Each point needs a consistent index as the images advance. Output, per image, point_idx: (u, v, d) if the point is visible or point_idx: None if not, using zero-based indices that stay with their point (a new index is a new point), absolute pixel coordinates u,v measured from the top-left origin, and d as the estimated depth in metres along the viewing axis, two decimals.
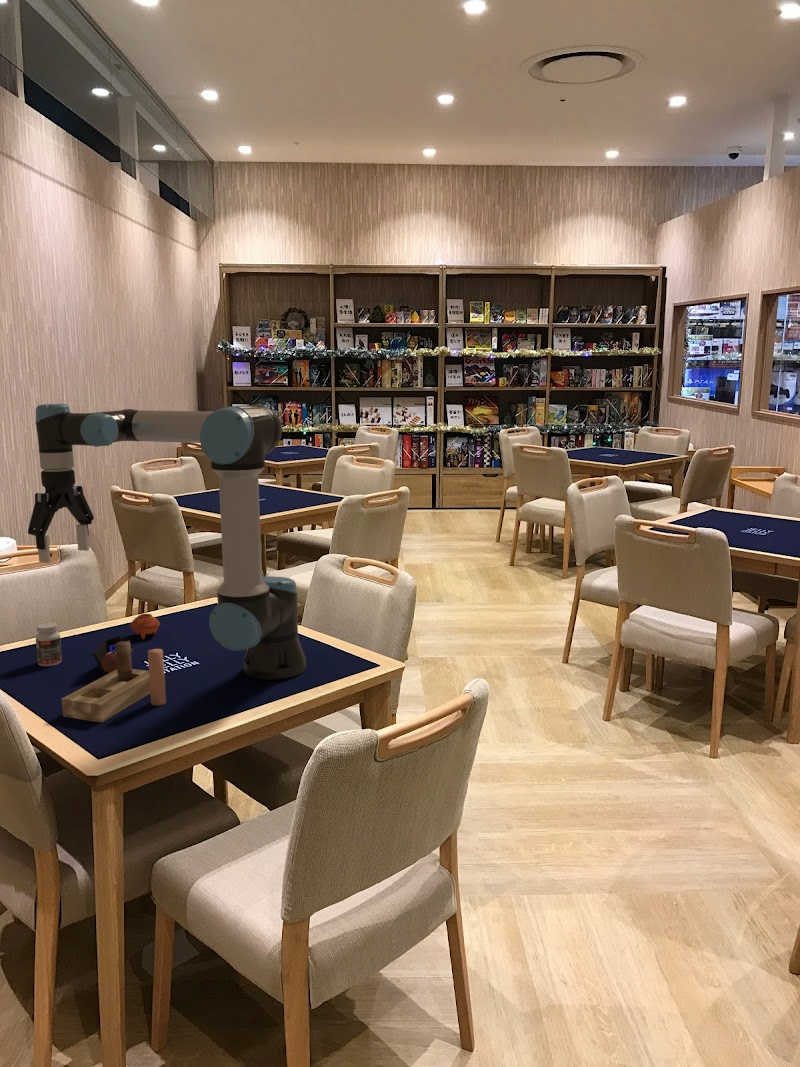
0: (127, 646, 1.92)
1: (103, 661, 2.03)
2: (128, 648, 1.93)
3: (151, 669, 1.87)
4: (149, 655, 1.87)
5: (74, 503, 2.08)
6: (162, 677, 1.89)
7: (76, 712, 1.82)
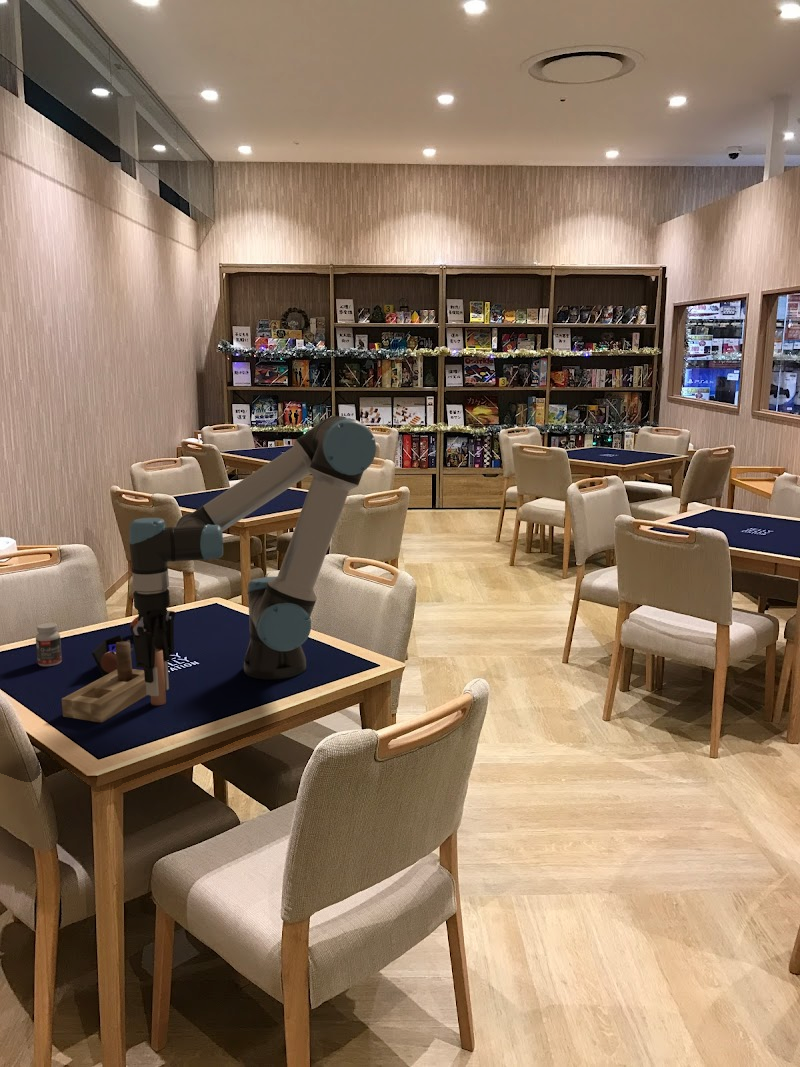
0: (127, 646, 1.92)
1: (102, 660, 2.03)
2: (128, 648, 1.93)
3: None
4: None
5: (164, 628, 1.88)
6: (162, 677, 1.89)
7: (76, 712, 1.82)
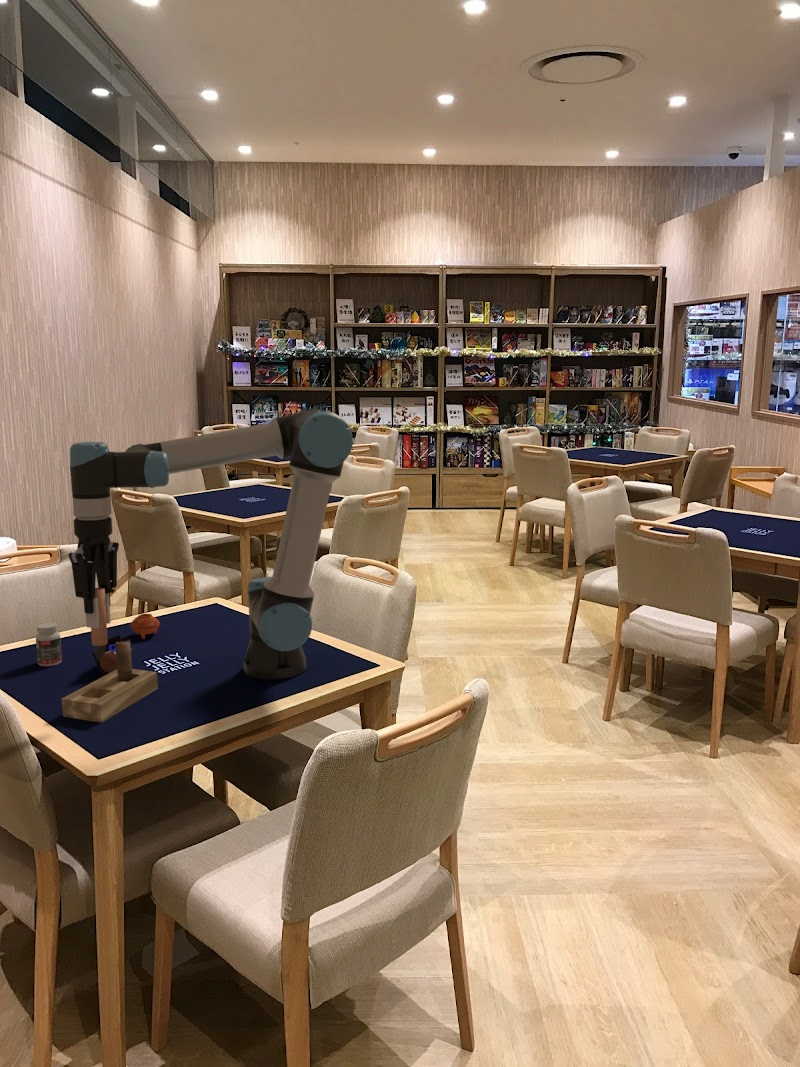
0: (127, 646, 1.92)
1: (101, 660, 2.03)
2: (128, 648, 1.93)
3: None
4: None
5: (106, 558, 1.81)
6: (103, 617, 1.82)
7: (76, 712, 1.82)
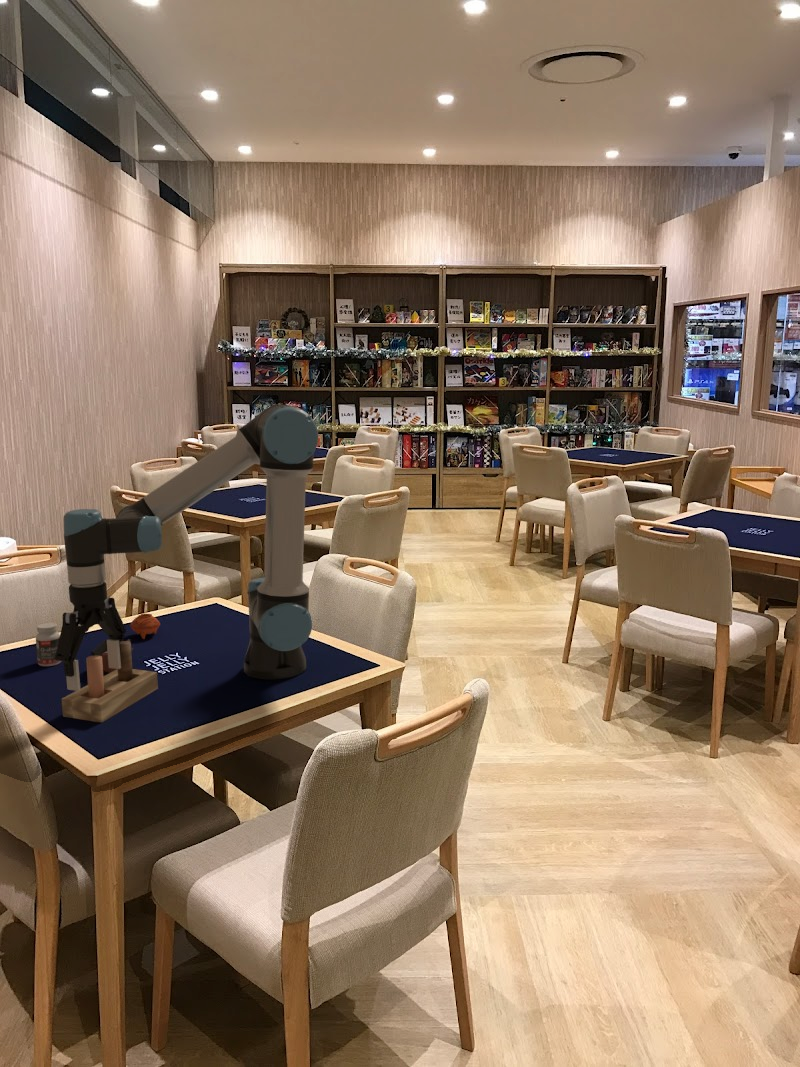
0: (128, 646, 1.93)
1: None
2: (129, 648, 1.93)
3: (89, 676, 1.83)
4: (87, 662, 1.83)
5: (105, 619, 1.84)
6: (101, 684, 1.84)
7: (76, 712, 1.82)
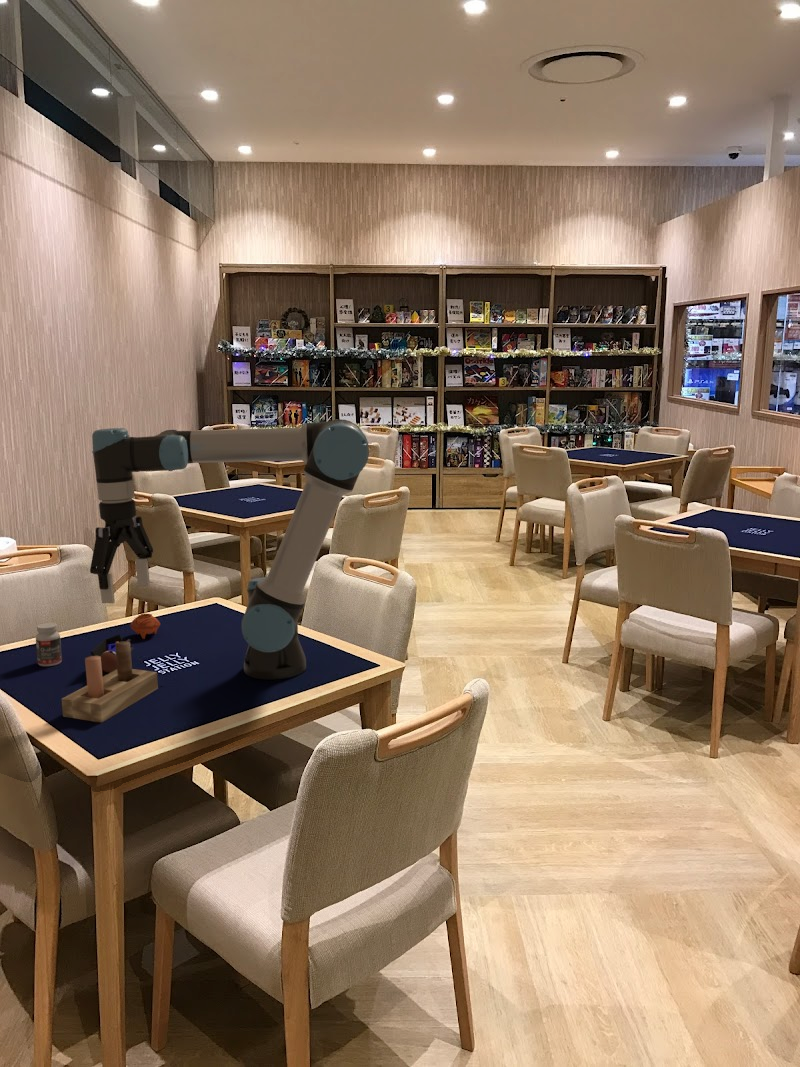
0: (127, 646, 1.92)
1: None
2: (128, 648, 1.93)
3: (88, 677, 1.83)
4: (86, 662, 1.83)
5: (135, 536, 1.90)
6: (100, 685, 1.84)
7: (76, 712, 1.82)
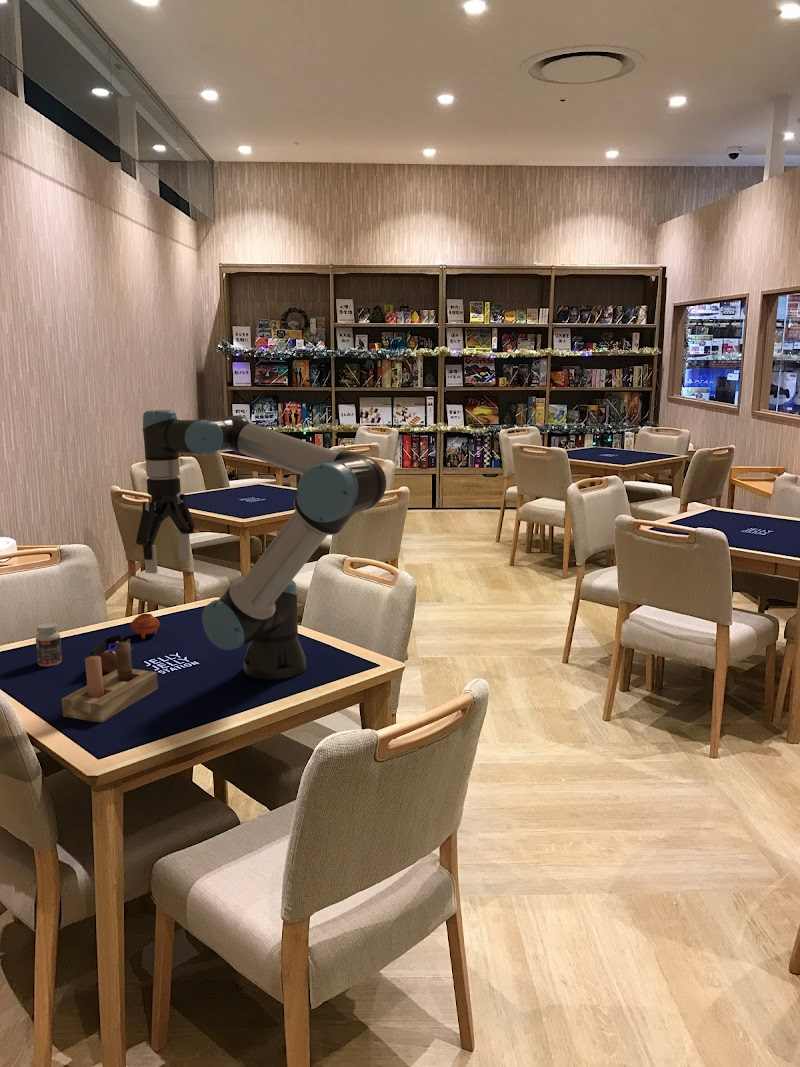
0: (127, 646, 1.92)
1: None
2: (128, 648, 1.93)
3: (88, 677, 1.83)
4: (86, 662, 1.83)
5: (178, 512, 2.03)
6: (100, 685, 1.84)
7: (76, 712, 1.82)
